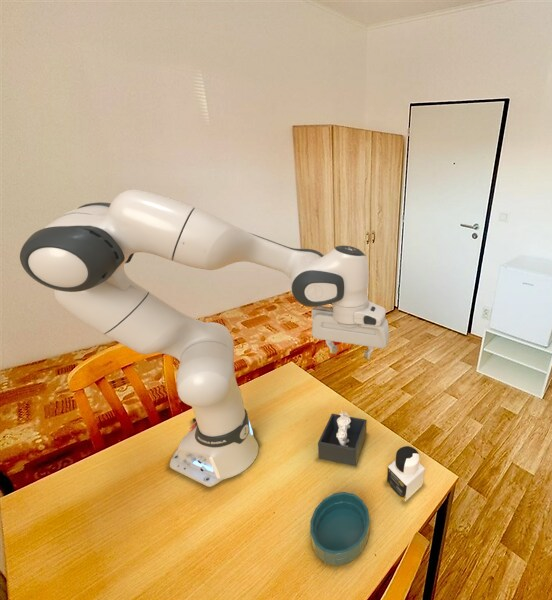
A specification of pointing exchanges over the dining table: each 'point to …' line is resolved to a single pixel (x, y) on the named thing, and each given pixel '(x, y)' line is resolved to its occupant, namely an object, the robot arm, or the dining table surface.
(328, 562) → the bowl
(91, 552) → the dining table surface
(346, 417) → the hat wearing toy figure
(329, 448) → the bin
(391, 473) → the medicine bottle
